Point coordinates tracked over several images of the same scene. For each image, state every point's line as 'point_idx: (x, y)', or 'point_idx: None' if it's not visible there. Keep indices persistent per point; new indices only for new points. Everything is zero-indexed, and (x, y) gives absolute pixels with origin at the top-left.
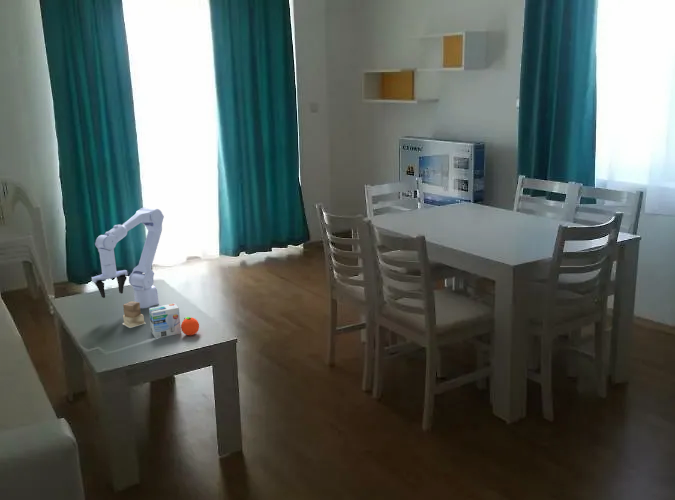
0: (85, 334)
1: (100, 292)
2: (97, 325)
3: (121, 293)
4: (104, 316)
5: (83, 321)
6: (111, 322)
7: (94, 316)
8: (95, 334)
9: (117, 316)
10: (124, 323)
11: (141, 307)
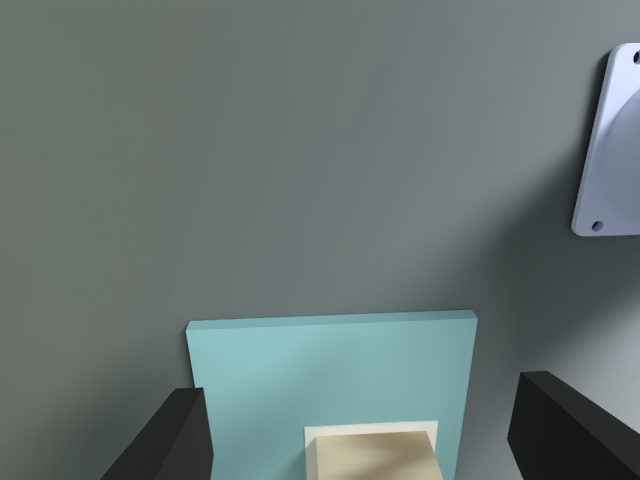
0: (27, 402)
1: (127, 468)
2: (149, 291)
3: (509, 440)
4: (275, 99)
5: (48, 84)
6: (267, 304)
7: (188, 7)
8: (94, 442)
9: (369, 199)
10: (316, 444)
11: (624, 211)
